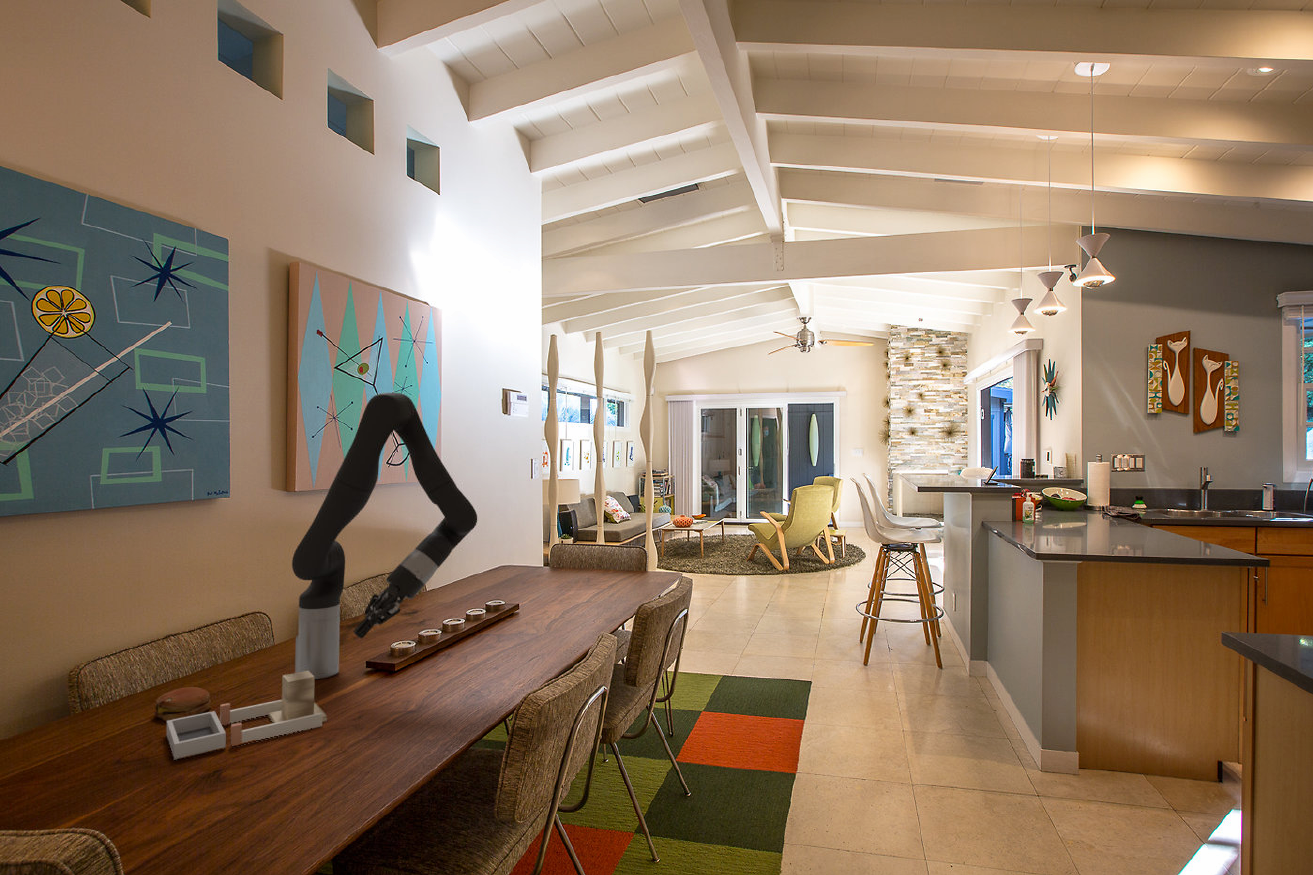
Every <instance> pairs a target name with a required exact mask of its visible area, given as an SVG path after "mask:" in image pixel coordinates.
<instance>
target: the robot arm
mask: <svg viewBox="0 0 1313 875" xmlns="http://www.w3.org/2000/svg"><path fill="white" fill-rule="evenodd" d="M393 432H395V434H397V436H398V437H399V438H400V439H401V441H402V442H403V444H404V445H405V447H406V449H407V451H408V455H409V458H410V460H411V465H412V469H413V471H414V474H415V477H416V479H417V481H418V483H419V485H420V486H421V488H422V489H423V491H424V493H425V494H426V496H427V497H428V499H429V500H430V502H432V503H433V505H436V506H437V507H438V509H439V510H440V512H441V513H442V515H443V519H442V520H441V521H440V522H439V524H437V526H436V527H435V528H434V529H433V530H432V532H431V533H429V534H428V535H427V536H426V537H424V539H423V540H422V541H421V542H420V543H419V544H418V545H417V546H416V547H415V548H414V549H413V550H412V551H411V552H409V554H408V555H407V556H405V558H404V559H402V561H401V562H400V563H399V564H398V565H397V566H396V567H395V568H394V569H393V571H392V572H391V573H390V574H389V575H388V576H387V577H386V582H387V583H388V584H389V585H388V586H386V587H385V589H383V590H382V591H381V592H380V593H378V594H377V593H374V594H373V595H372V597H371V598H370V601H369V603H368V604H367V606H366V609H365V610H364V612H363V614H364V619H363V620H361V622H360V623H359V624H358V625H357V626H356V628H355V629H354V630H353V634H354V635H356V636H357V637H358V638H360V639H363V638H364V637H365V636H366V635H367V634H368V633H369V632H370V631H371V629H372V628H374V626H377V625H379V626H380V625H383V624H384V623H385V622H387V621H389V620H390V619H392V618H393V617H395V616H396V615H398V614H399V613H400V612H401V611H402V610H401V608H400V605H401V604H402V603H403V601H404V600H405V598H406V599H408V600H413V599H414V598H415V597H416V595H418V593H419V592H420V591H421V590H422V589H423V587H424V586H426V584H427V583H428V581H430V580H431V578H432V577H434V576H433V575H435V573H436V571H437V570H438V569H439V568H440V566H441V565H442V564H443V563H444V562H445V561H446V560H447V558H448V557H449V556H450V555H451V553H452V552H453V550H454V549H455V548H456V547H457V546H458V544H460V543H461V542H462V541H463V540H464V539H465V537H466V536H468V534H470V533H471V531H473V530H474V528H475V527H476V526H477V523H478V514H477V512H476V510H475V507H474V506H473V504H472V503H471V502H470V500H469V499H468V498H467V497H466V496H465V495H464V493H463V492H462V491H461V490H460V489H459V488H458V486H457V484H456V483H455V481H454V479H453V478H452V476H451V475H450V473H449V471H448V470H447V468H446V466H445V465H444V464H443V462H442V460H441V458H440V457H439V455H438V453H437V450H435V447H434V446H433V444H432V441H431V440H430V437H429V435H428V433H427V432H426V429H425V427H424V425H423V422H422V420H421V417H420V415H419V413H418V409H417V407H416V406H415V404H414V402H413V401H412V399H411V398H410V397H409V396H407V395H406V394H404V393H400V392H382V393H381V392H380V393H378V394H377V393H376V395H374V396H372V397H371V398H370V399H369V400H368V402H367V404H366V406H365V408H364V411H363V414H362V416H361V419H360V422H359V425H358V428H357V430H356V433H355V436H354V439H353V441H352V442H351V445H350V447H349V449H348V451H347V453H346V454H345V457H344V458H343V461H342V464H341V466H340V467H339V469H338V471H337V473H336V475H335V476H334V479H333V481H332V483H331V485H330V487H329V490H328V492H327V493H326V496H325V498H324V500H323V502H322V504H321V506H320V508H319V509H318V512H317V514H316V516H315V517H314V520H313V521H312V524H311V525H310V526H309V528H308V530H307V532H306V533H305V534H304V535H303V538H302V539H301V541H300V542H299V544H298V546H297V547H296V549H295V550H294V553H293V557H292V560H291V567H292V572H293V574H294V575H295V576H296V578H298V579H299V580H303V581H311V582H310V584H309V585H308V586H307V588H306V589H305V590H304V591H303V592H302V593H300V595H299V598H298V635H296V636H295V663H294V664H295V668H294V669H295V670H294V671H295V672H294V673H298V672H304V671H309V672H310V673H311V674H312V675H313V676H314V677H315V680H318V679H325V678H329V677H332V676H334V675H337V674H338V673H339V669H340V616H341V615H340V613H341V611H340V608H341V607H340V606H341V604H340V603H341V596H342V594H343V592H344V586H345V570H346V554H345V550H344V547H343V546H342V545H341V543H339V542H338V541H336V540H337V537H338V536H339V535H340V534H341V532H342V531H343V530H344V529H345V528H346V527H347V525H349V524H350V523H351V522H352V521H353V520H354V519H355V518H356V517H357V516H358V515H359V513H360V512H361V511H362V510H363V509H364V508H365V506H366V505H367V503H368V502H369V500H370V497H371V495H372V494H373V491H374V490H375V487H376V484H377V482H378V478H379V469H380V464H379V463H380V459H381V458H380V457H381V454H382V452H383V451H382V450H383V449H384V447H385V445H386V443H387V441H388V439H389V437H390V436H391V435H392V433H393Z"/></svg>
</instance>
